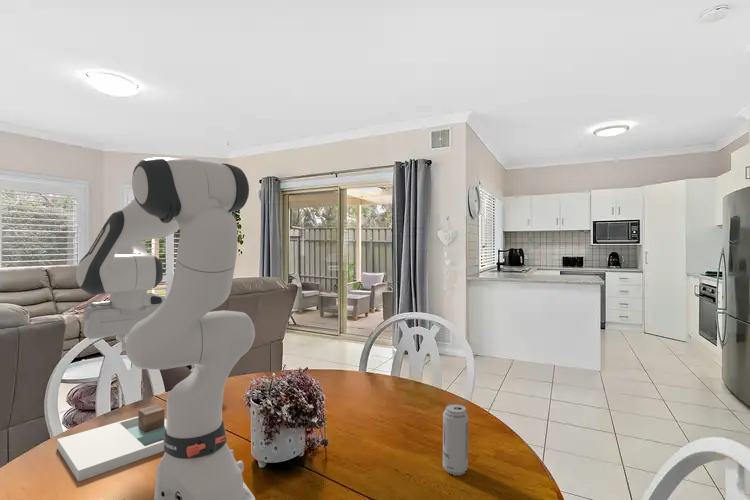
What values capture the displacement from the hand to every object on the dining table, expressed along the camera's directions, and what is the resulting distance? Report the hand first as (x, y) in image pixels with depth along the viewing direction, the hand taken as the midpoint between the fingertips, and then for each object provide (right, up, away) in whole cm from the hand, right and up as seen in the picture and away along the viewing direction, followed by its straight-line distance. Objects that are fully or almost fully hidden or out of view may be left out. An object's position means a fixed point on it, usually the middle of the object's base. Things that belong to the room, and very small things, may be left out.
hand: (128, 349), depth 110 cm
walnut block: (+5, -22, +2) cm, 23 cm away
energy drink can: (+88, -26, -14) cm, 93 cm away
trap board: (+1, -25, -4) cm, 25 cm away
